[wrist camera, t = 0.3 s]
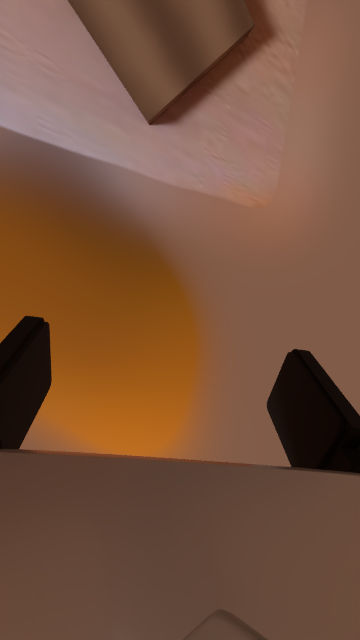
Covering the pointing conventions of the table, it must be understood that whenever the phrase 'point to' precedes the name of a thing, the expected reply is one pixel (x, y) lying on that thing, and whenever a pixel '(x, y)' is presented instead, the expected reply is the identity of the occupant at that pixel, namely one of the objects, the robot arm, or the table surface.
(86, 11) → the walnut plinth
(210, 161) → the table surface
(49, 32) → the table surface
